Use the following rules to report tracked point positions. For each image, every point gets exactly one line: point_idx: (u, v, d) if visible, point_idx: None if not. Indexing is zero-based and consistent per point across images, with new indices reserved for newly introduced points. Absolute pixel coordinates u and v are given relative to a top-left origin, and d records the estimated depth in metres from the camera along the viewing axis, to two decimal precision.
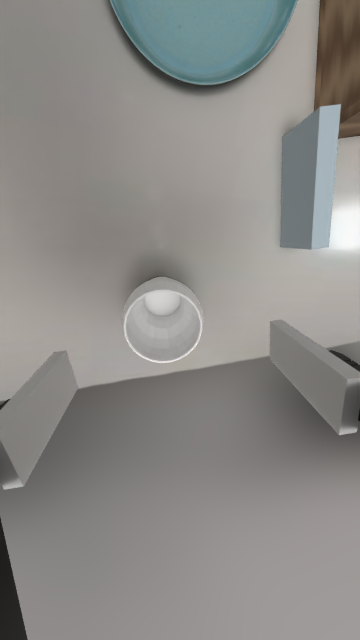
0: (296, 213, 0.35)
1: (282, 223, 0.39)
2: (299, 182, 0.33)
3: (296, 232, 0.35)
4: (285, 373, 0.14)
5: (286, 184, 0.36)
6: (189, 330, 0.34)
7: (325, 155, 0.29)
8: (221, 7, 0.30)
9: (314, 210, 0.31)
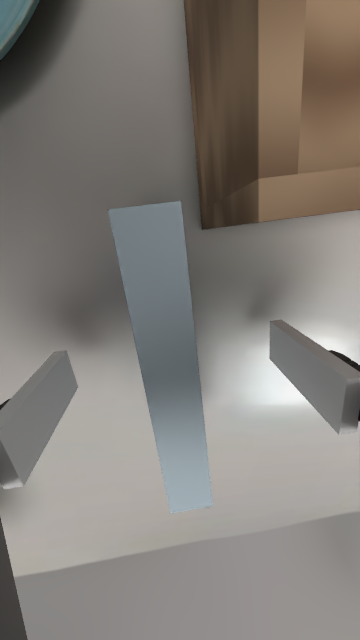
0: None
1: None
2: None
3: None
4: (285, 373, 0.14)
5: None
6: None
7: (160, 337, 0.10)
8: None
9: (159, 449, 0.12)
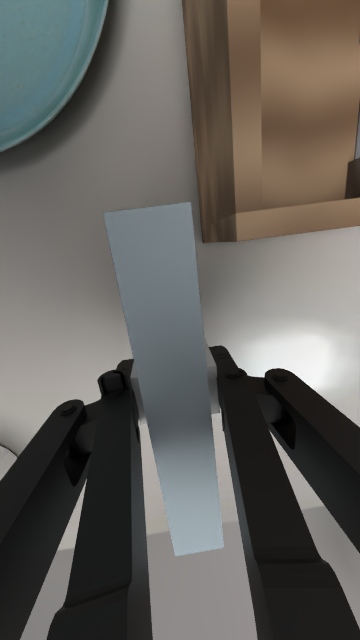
0: None
1: None
2: None
3: None
4: None
5: None
6: None
7: (165, 361, 0.08)
8: None
9: (162, 487, 0.10)
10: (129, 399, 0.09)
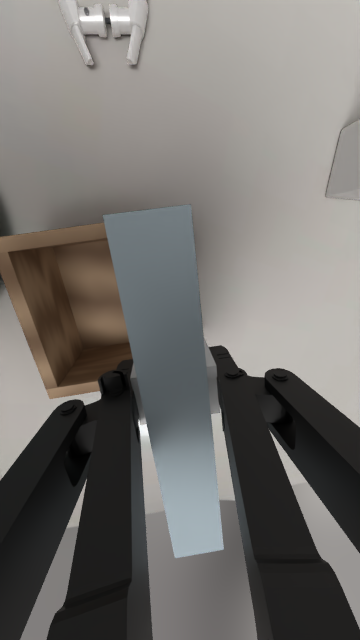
0: None
1: None
2: None
3: None
4: None
5: None
6: None
7: (165, 364, 0.08)
8: None
9: (162, 489, 0.10)
10: (129, 399, 0.09)
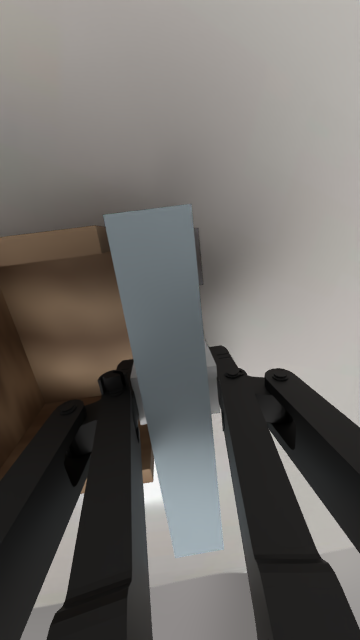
0: None
1: None
2: None
3: None
4: None
5: None
6: None
7: (165, 363, 0.08)
8: None
9: (162, 488, 0.10)
10: (129, 399, 0.09)
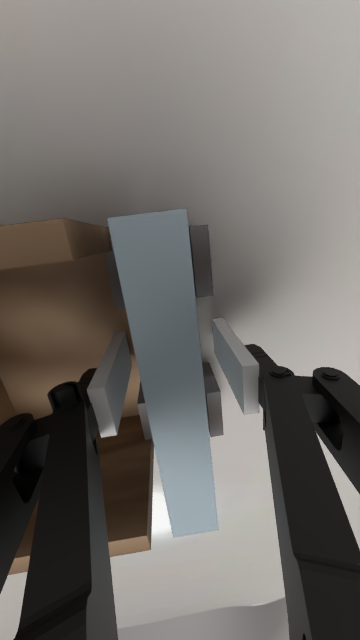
0: None
1: None
2: None
3: None
4: (221, 365, 0.15)
5: None
6: None
7: (163, 354, 0.09)
8: None
9: (161, 471, 0.11)
10: (84, 410, 0.09)
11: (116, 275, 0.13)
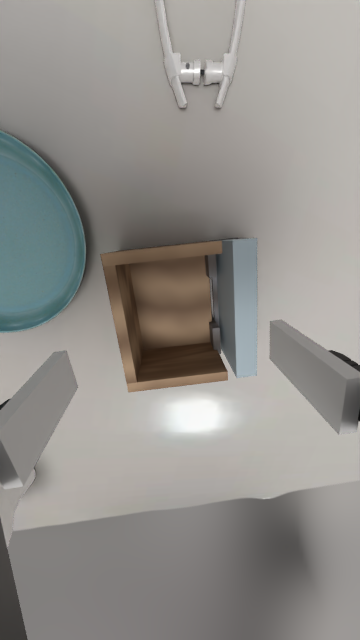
0: (226, 327, 0.31)
1: (220, 325, 0.35)
2: (226, 300, 0.29)
3: (228, 347, 0.32)
4: (285, 373, 0.14)
5: (219, 290, 0.33)
6: None
7: (244, 287, 0.25)
8: (21, 264, 0.32)
9: (236, 340, 0.27)
10: None
11: (211, 262, 0.30)
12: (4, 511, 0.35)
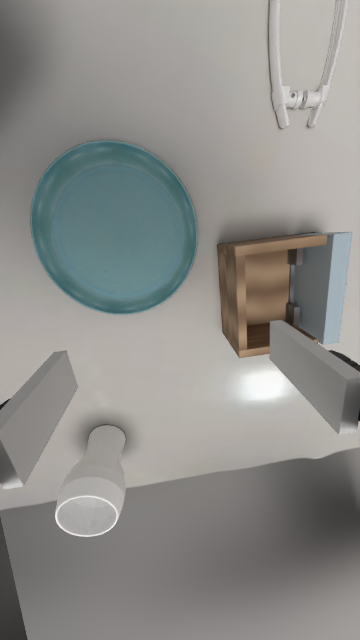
0: (308, 306, 0.38)
1: None
2: (312, 283, 0.36)
3: (309, 322, 0.39)
4: (285, 373, 0.14)
5: (299, 276, 0.40)
6: None
7: (337, 271, 0.32)
8: (138, 258, 0.38)
9: (326, 314, 0.34)
10: None
11: (299, 252, 0.36)
12: (119, 465, 0.42)
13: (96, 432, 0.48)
